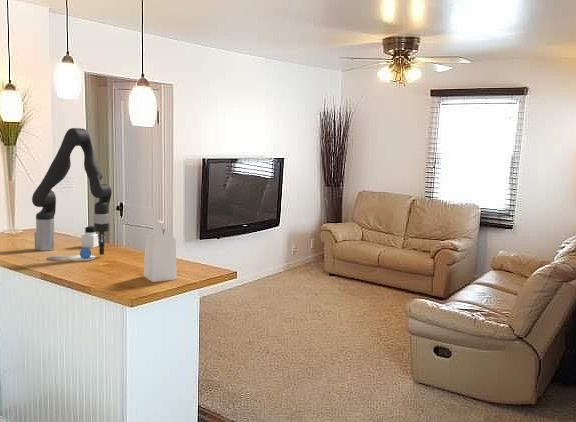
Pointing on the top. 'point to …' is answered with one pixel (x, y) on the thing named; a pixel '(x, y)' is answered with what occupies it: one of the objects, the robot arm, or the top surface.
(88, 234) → the medicine bottle
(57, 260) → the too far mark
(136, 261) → the top surface
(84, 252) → the ball
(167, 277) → the milk
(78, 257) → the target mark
